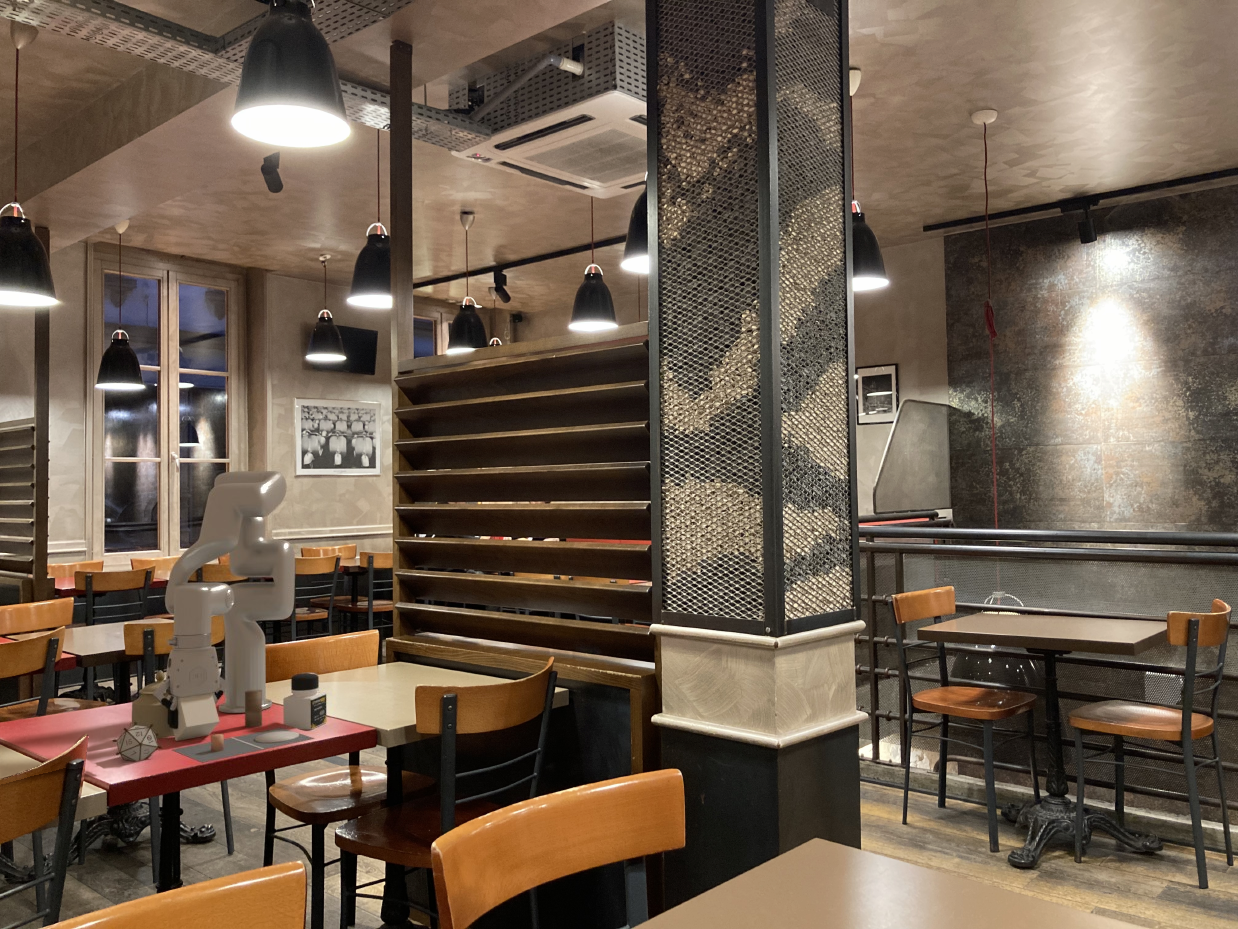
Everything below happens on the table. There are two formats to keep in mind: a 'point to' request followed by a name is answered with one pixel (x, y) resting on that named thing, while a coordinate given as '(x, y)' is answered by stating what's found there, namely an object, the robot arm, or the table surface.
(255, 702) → the walnut pin
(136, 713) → the sugar bowl
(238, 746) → the board
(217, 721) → the block
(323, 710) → the medicine bottle
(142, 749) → the game die
